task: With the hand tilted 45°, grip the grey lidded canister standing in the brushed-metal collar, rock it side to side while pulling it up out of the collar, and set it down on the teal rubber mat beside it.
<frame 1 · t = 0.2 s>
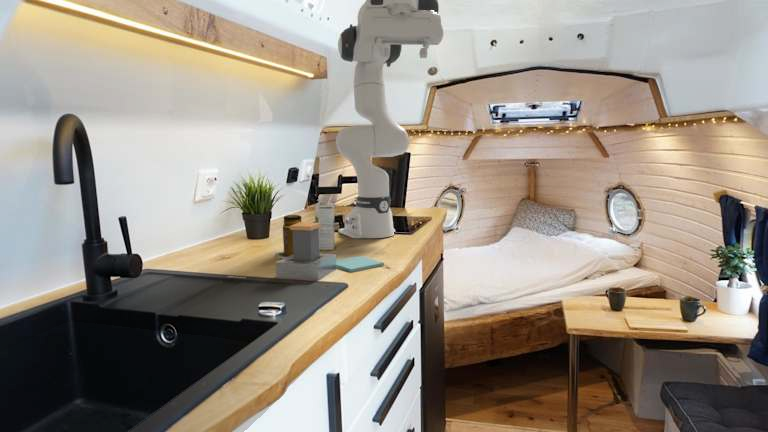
hand: (404, 56, 122), 54 cm above the worktop, tool tilted 30°, fingers open, 8 cm apart
grey lidded canister: (306, 248, 133), in the collar
collar: (307, 273, 134), on the worktop
condiment: (291, 255, 155), on the worktop
mat: (355, 264, 141), on the worktop
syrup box: (325, 248, 164), on the worktop
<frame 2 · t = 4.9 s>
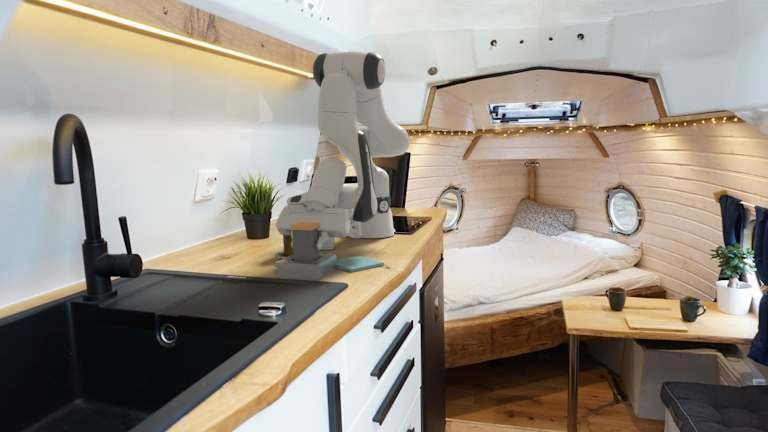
hand: (305, 247, 132), 7 cm above the worktop, tool tilted 45°, fingers closed on grey lidded canister, 5 cm apart
grey lidded canister: (306, 248, 133), in the collar, touching gripper
everything else where it was.
when the fingers open (9 cm above the worktop, at t = 11.4 s): grey lidded canister moves 3 cm, resting on mat.
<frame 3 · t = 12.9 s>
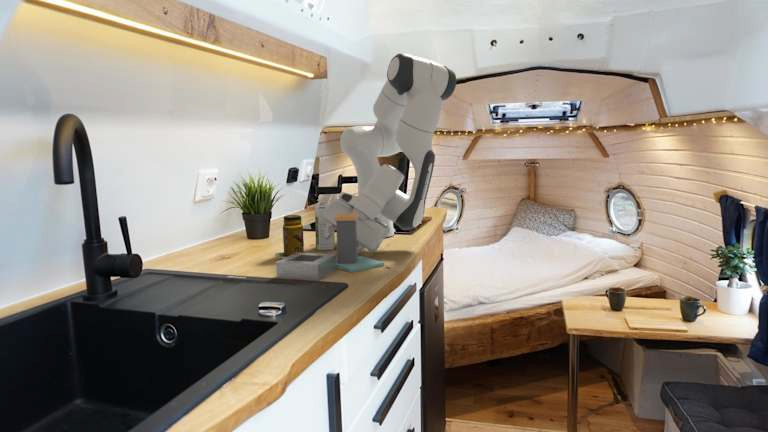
hand: (337, 246, 152), 3 cm above the worktop, tool tilted 40°, fingers open, 8 cm apart
grey lidded canister: (346, 238, 141), on the mat, point 7 cm above the worktop
everything else where it was.
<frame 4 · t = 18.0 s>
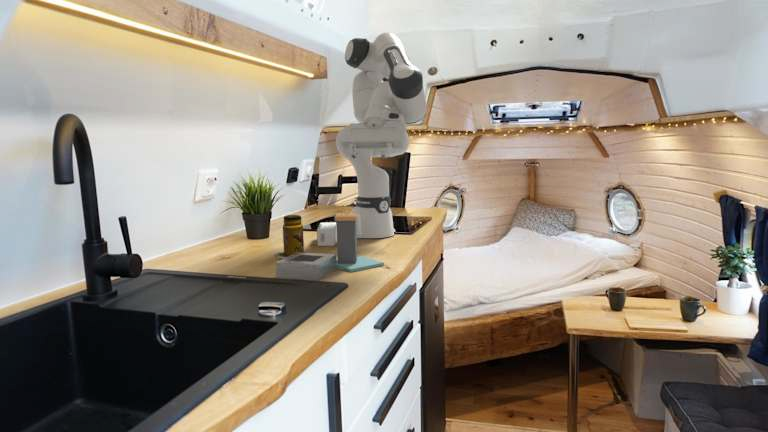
hand: (368, 156, 148), 29 cm above the worktop, tool tilted 45°, fingers open, 8 cm apart
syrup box: (326, 237, 166), point 3 cm above the worktop
everything else where it was.
at the end: grey lidded canister inside the target area on the mat (2.6 cm from its centre), point 7.3 cm above the mat's base; grey lidded canister tilted 0°; the gripper is holding nothing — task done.
